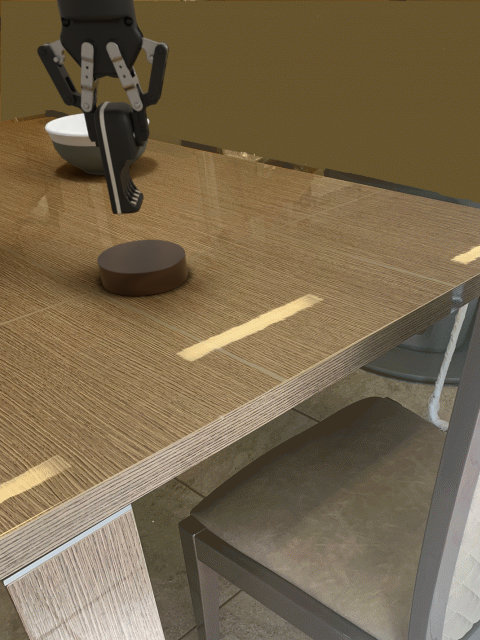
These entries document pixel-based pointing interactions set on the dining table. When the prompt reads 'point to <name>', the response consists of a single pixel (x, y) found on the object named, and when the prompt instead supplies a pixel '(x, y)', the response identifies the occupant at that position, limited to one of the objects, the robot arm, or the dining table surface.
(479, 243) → the dining table surface
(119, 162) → the battery charger
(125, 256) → the brown round disc
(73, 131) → the bowl
